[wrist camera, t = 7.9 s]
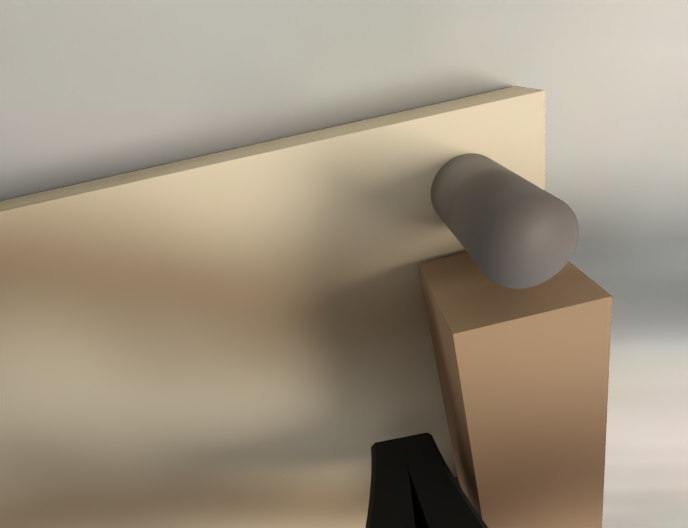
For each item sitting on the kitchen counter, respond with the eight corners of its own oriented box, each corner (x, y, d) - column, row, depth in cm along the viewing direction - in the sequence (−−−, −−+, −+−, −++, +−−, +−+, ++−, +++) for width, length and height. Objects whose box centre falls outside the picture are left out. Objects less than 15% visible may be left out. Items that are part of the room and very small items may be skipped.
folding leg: (411, 263, 9) (448, 339, 6) (538, 232, 9) (623, 297, 6) (456, 495, 12) (491, 601, 10) (549, 475, 12) (606, 578, 10)
